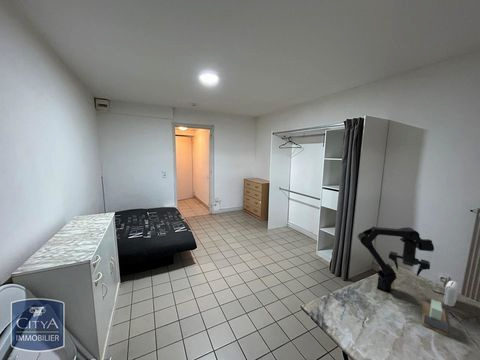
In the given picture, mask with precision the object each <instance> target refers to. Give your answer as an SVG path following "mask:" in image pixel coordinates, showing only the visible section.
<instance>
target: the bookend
mask: <svg viewBox="0 0 480 360" xmlns="http://www.w3.org/2000/svg"><path fill="white" fill-rule="evenodd" d="M424 323H425V324H427V325H430V326H432V327H434V328H437V329H439V330H441V331H444V332H446V333H447V329H448V328H449V324H448V322H447V323H444V322H442V321H439V320H437V319H434V318H432V317H429V316H427V315H425V316H424ZM448 330H449V329H448Z"/></svg>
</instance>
